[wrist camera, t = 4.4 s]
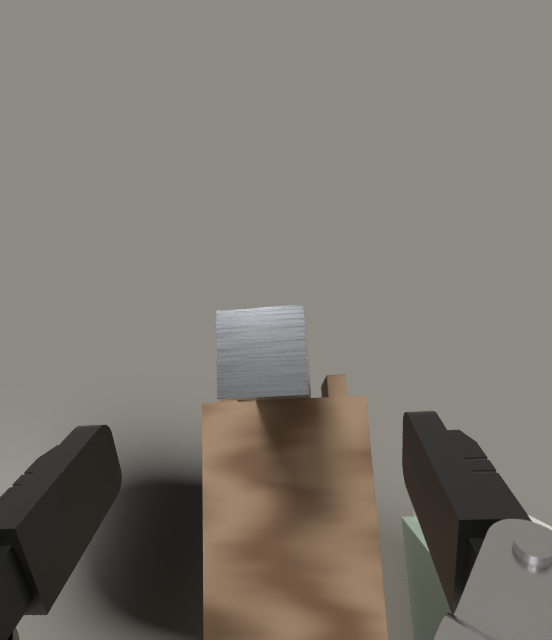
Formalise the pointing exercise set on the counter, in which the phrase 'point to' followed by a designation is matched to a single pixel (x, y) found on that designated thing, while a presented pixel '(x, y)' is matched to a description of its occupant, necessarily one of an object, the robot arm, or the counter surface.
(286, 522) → the walnut post
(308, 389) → the bar
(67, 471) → the robot arm
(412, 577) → the sage green box
